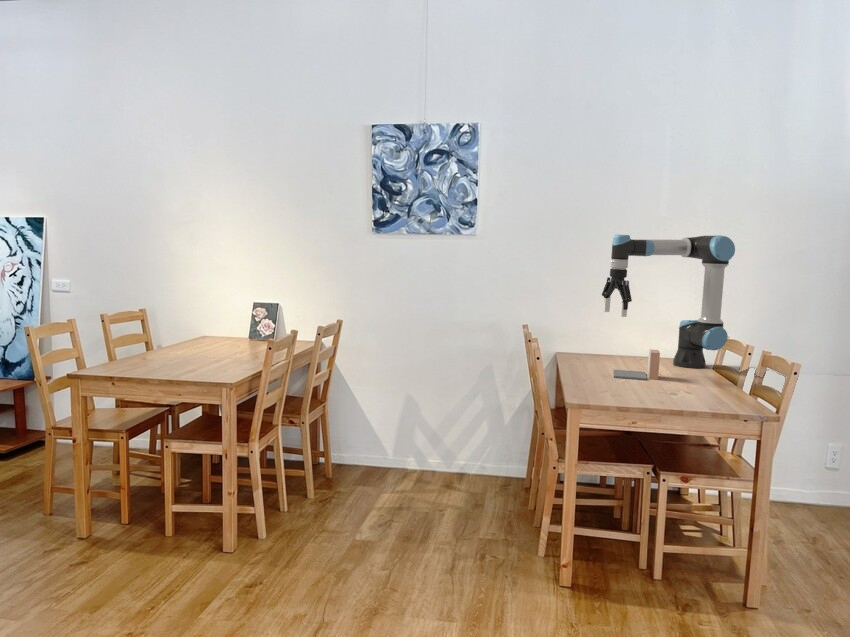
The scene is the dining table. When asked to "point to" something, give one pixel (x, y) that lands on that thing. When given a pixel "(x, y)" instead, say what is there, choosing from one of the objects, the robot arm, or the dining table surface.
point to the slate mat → (629, 374)
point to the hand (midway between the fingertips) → (614, 314)
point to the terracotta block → (653, 364)
